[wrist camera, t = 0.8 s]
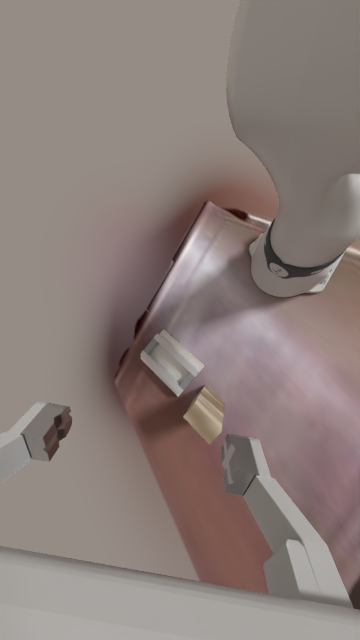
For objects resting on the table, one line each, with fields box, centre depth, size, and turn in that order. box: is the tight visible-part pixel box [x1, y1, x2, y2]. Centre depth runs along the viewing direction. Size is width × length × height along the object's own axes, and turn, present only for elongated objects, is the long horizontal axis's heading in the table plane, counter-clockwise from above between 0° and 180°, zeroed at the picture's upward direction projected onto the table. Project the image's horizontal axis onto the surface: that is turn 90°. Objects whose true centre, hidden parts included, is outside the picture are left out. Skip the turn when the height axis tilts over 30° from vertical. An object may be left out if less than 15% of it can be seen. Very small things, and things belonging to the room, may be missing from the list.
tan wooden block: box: [183, 386, 224, 444], centre depth 38 cm, size 3×6×14 cm, turn 49°
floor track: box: [140, 330, 204, 397], centre depth 47 cm, size 10×14×3 cm
